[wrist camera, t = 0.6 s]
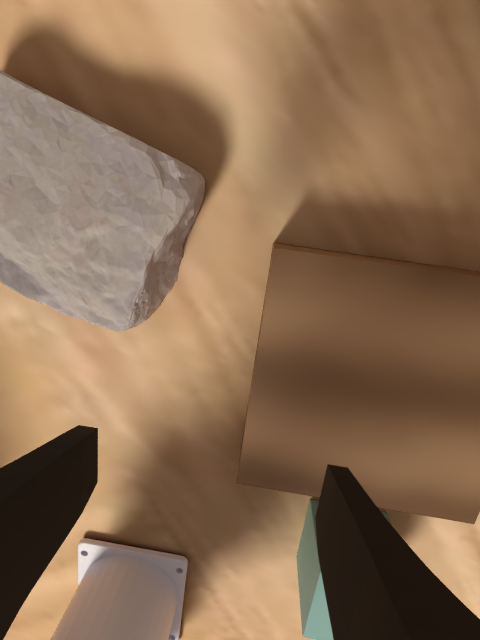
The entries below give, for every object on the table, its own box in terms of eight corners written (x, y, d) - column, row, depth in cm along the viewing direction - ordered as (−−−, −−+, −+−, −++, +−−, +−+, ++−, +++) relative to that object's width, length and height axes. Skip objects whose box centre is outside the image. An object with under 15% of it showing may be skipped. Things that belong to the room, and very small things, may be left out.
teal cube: (367, 567, 24) (391, 653, 20) (296, 555, 25) (302, 637, 20) (386, 511, 23) (416, 589, 18) (309, 498, 23) (320, 571, 18)
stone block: (167, 320, 22) (223, 164, 18) (132, 361, 18) (194, 169, 13) (-1, 240, 22) (9, 61, 18) (-76, 262, 18) (-90, 33, 13)
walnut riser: (447, 483, 22) (474, 523, 19) (241, 448, 22) (236, 483, 19) (524, 278, 18) (572, 290, 15) (273, 242, 19) (273, 247, 16)
